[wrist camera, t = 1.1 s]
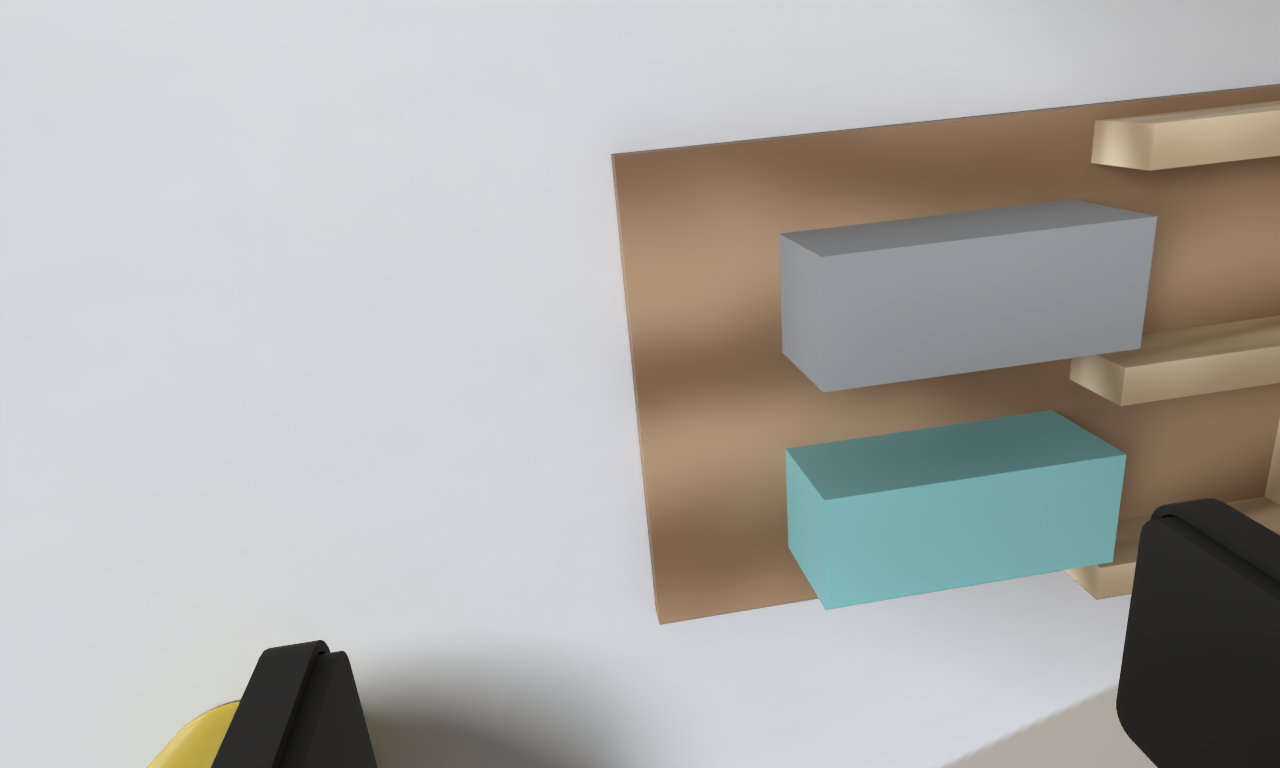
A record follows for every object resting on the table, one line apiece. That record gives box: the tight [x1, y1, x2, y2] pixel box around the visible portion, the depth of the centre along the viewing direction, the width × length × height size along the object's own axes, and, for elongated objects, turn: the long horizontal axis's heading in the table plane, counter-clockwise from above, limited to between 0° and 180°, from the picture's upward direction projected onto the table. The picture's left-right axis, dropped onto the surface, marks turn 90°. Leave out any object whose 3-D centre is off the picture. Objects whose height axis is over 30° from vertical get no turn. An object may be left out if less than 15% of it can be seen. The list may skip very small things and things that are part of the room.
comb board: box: [611, 84, 1280, 625], centre depth 25 cm, size 15×24×3 cm, turn 95°
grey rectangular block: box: [779, 199, 1157, 392], centre depth 23 cm, size 4×9×4 cm, turn 95°
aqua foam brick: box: [785, 410, 1127, 610], centre depth 25 cm, size 4×9×4 cm, turn 95°
